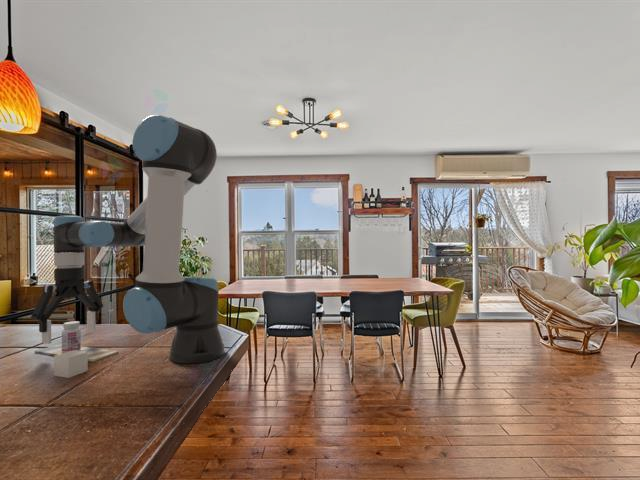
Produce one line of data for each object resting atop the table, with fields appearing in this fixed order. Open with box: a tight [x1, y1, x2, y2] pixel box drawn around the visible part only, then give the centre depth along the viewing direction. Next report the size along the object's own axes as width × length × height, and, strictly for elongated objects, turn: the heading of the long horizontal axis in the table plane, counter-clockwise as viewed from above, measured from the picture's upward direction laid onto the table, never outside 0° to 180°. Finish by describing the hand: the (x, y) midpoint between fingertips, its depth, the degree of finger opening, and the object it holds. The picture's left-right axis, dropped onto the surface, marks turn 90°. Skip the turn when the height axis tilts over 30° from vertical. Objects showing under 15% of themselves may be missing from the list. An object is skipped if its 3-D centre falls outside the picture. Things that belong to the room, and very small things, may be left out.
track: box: [34, 343, 119, 362], centre depth 107 cm, size 24×8×1 cm, turn 71°
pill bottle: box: [61, 320, 82, 352], centre depth 107 cm, size 5×5×8 cm
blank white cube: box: [53, 350, 89, 379], centre depth 90 cm, size 5×5×5 cm
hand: (70, 337), depth 108 cm, fingers open, 13 cm apart
